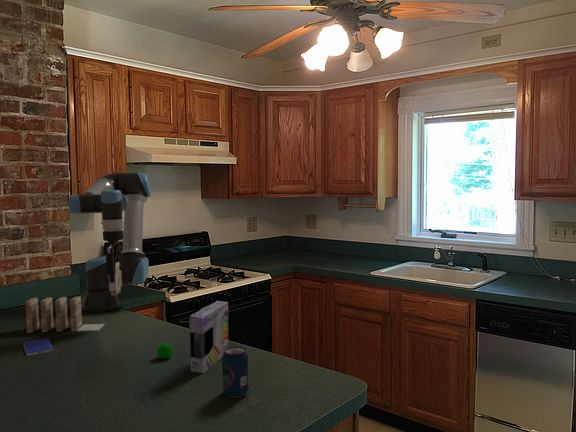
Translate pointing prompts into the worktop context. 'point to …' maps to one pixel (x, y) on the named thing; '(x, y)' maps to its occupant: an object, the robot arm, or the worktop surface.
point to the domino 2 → (47, 314)
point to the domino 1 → (32, 314)
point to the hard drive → (37, 347)
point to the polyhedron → (164, 350)
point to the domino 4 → (75, 313)
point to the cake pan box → (208, 336)
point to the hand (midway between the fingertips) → (115, 288)
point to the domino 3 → (61, 313)
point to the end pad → (91, 327)
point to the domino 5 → (117, 280)
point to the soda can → (235, 372)
